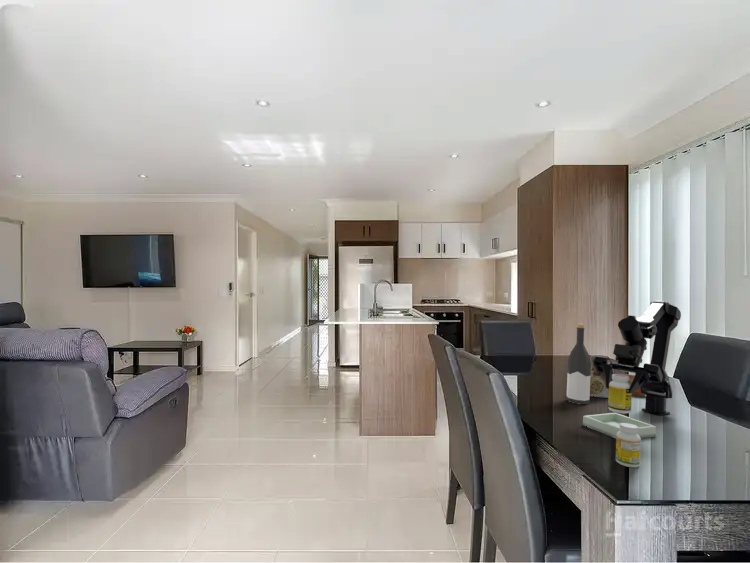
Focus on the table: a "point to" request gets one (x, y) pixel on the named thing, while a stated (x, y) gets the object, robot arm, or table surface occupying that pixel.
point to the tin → (638, 391)
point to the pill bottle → (619, 394)
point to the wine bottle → (579, 371)
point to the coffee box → (597, 381)
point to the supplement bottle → (628, 445)
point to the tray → (617, 424)
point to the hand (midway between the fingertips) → (618, 390)
